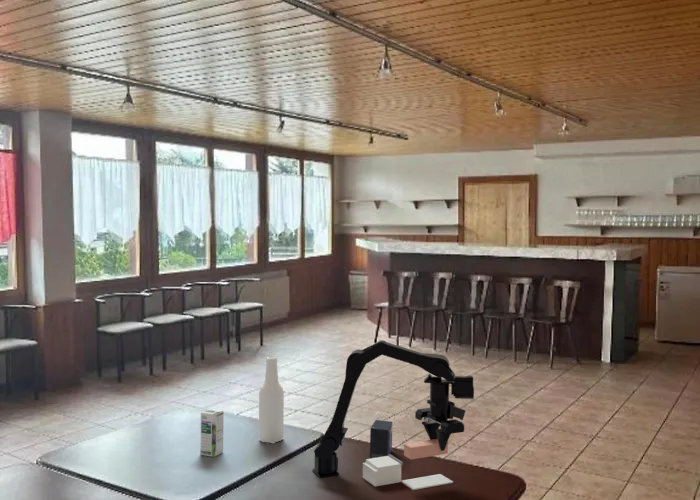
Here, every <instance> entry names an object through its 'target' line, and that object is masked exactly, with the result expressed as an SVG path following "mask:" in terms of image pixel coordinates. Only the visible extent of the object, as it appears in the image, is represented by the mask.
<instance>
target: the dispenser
mask: <svg viewBox="0 0 700 500" xmlns="http://www.w3.org/2000/svg"><path fill="white" fill-rule="evenodd" d="M403 466H404V461H402V460H400V459H399V458H397V457H395V455H393V454H391V453H390V454H389V455H388V456H384V457H377V458H371V459H369V458H367V459H365V462H362V478H363V479H364V480H365V481H367V482H368V483H369V484H370V485H372V486H373V487H379V486H386V485H392V484H396V483H397V484H398V483H402V482H401V481H402V467H403Z"/></svg>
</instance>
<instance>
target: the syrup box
mask: <svg viewBox="0 0 700 500" xmlns="http://www.w3.org/2000/svg"><path fill="white" fill-rule="evenodd" d="M224 418H225V417H224V410H218V409H213V408H209V409H205V410H203V411H202V412H201V413H200V453H199V455H200V456H206V457H207V456H208V457H212V458H215V457H217V456H219V455H220V454H223V453H224Z"/></svg>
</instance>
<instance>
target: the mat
mask: <svg viewBox="0 0 700 500" xmlns="http://www.w3.org/2000/svg"><path fill="white" fill-rule="evenodd" d="M400 483H402V484H404V486H406V487H408V488H410V490H412V491H417V490H421V489H427V488H433V487H438V486H443V485H444V486H445V485H449V484H453V483H454V481H453V480H451V479H450V478H448V477H446V476H444V475H443V474H441V473H438V474H433V475H432V474H430V475H426V476H420V477H415V478H410V479H401V482H400Z"/></svg>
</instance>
